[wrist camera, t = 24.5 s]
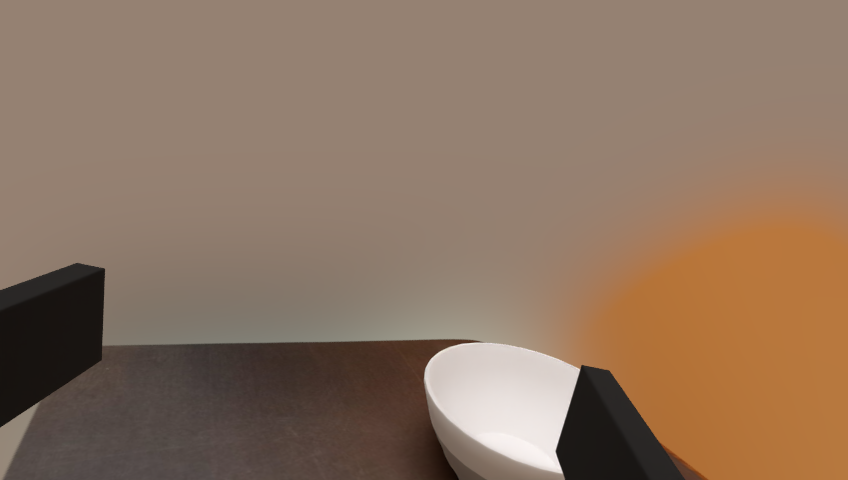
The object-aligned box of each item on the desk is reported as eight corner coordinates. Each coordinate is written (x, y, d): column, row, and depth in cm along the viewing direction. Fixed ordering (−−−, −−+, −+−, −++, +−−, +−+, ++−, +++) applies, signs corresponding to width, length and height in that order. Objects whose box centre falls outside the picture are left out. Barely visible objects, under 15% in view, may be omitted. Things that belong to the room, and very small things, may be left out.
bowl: (529, 401, 56) (546, 339, 54) (668, 538, 39) (701, 455, 37) (378, 418, 47) (392, 344, 45) (474, 603, 30) (503, 499, 28)
